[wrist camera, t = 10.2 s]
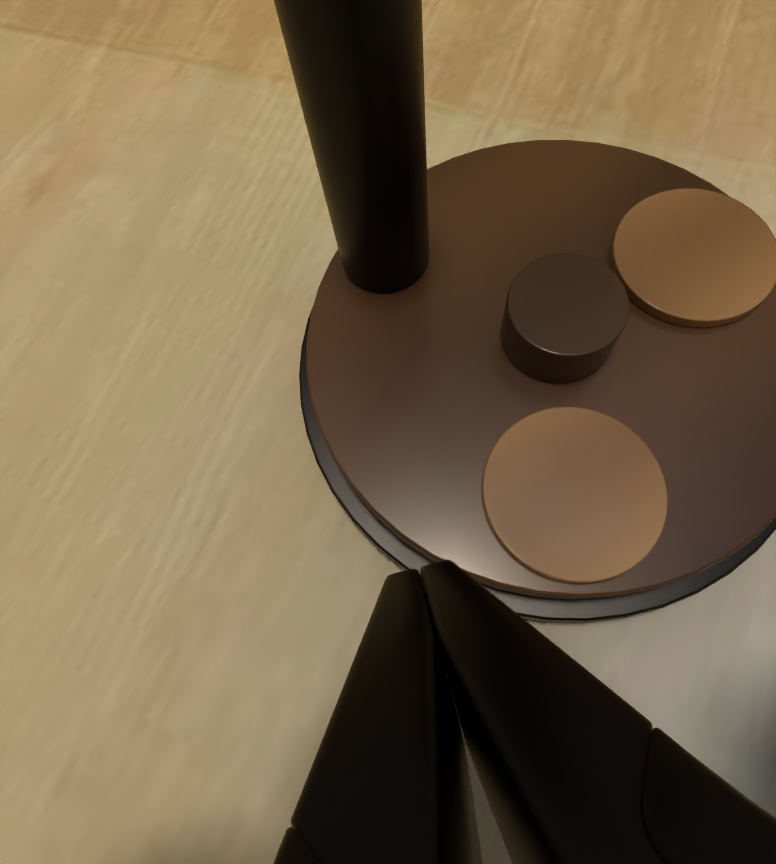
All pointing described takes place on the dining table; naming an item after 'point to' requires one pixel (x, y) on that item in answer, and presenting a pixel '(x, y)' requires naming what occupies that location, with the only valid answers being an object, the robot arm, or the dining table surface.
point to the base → (517, 602)
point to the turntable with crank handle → (530, 334)
